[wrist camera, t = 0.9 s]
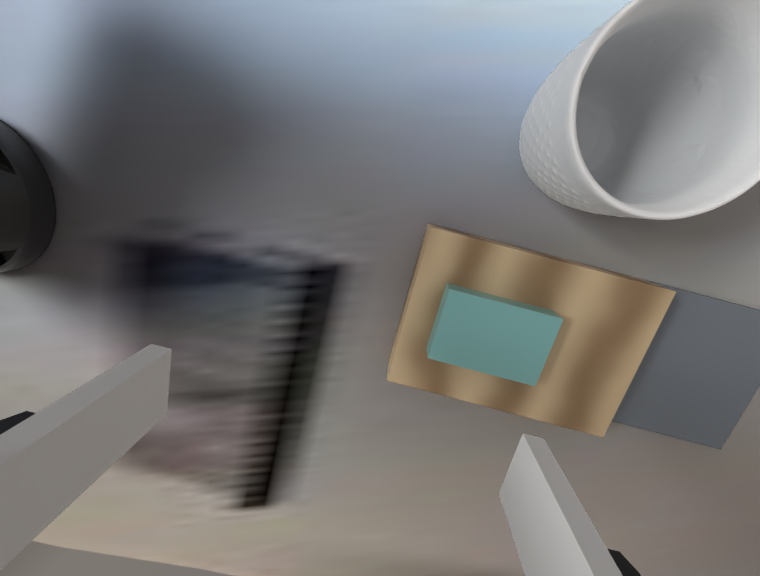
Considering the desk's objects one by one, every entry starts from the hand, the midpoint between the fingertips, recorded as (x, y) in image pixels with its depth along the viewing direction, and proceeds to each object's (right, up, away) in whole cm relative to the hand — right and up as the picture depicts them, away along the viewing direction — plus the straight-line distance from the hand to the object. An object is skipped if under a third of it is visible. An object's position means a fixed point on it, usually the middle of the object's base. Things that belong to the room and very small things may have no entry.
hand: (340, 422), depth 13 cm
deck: (+14, +2, +21) cm, 25 cm away
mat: (+30, -3, +21) cm, 37 cm away
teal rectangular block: (+10, +1, +17) cm, 20 cm away
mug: (+18, +18, +17) cm, 30 cm away
